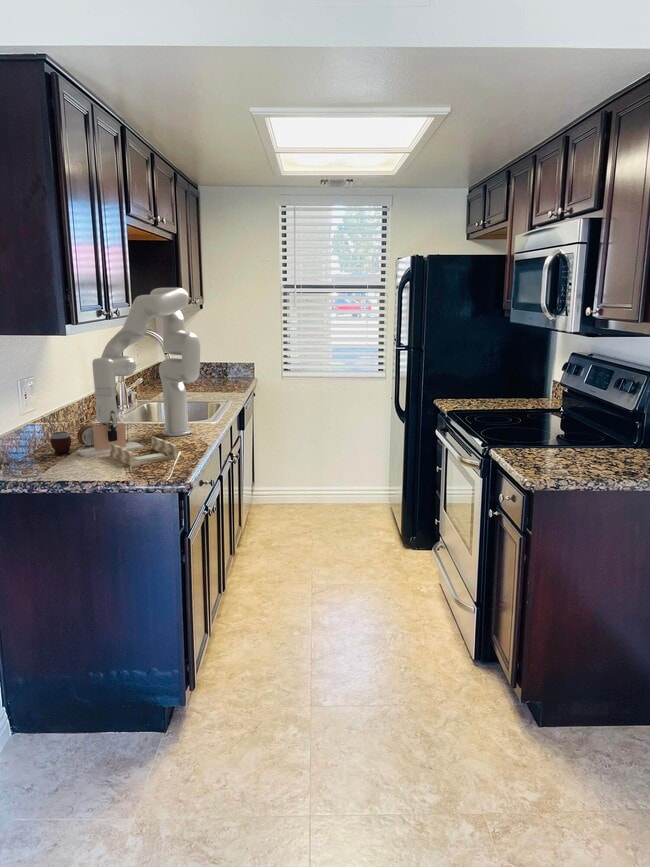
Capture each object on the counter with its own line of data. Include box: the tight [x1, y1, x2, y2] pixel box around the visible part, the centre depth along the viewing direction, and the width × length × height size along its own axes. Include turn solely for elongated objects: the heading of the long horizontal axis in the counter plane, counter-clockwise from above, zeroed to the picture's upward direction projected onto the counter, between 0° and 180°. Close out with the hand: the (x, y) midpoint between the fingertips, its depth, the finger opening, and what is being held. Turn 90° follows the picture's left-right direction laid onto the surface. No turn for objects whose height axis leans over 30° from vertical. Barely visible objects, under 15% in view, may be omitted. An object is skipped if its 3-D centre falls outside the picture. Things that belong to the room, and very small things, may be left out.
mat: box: [76, 441, 144, 458], centre depth 233 cm, size 9×22×1 cm, turn 129°
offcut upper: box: [133, 452, 166, 461], centre depth 217 cm, size 4×10×1 cm, turn 129°
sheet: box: [93, 422, 127, 451], centre depth 231 cm, size 2×11×9 cm, turn 129°
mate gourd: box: [40, 415, 72, 457], centre depth 226 cm, size 8×8×15 cm
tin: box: [76, 422, 101, 447], centre depth 242 cm, size 15×3×8 cm, turn 141°
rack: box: [109, 436, 178, 467], centre depth 221 cm, size 19×17×5 cm
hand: (109, 439), depth 232 cm, fingers open, 5 cm apart
